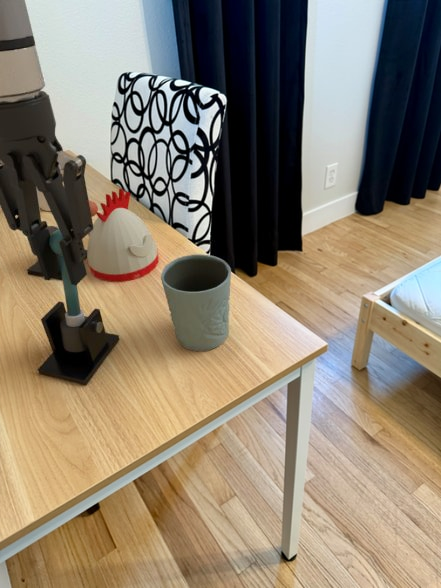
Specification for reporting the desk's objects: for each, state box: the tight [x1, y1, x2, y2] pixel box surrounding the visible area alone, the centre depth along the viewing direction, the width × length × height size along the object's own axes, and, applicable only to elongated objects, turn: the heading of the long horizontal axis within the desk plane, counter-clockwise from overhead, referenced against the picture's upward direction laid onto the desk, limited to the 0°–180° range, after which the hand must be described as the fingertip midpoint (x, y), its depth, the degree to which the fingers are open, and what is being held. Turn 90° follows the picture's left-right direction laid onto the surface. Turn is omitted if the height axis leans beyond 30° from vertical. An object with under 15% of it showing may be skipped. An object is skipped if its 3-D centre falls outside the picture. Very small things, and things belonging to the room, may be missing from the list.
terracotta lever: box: [45, 199, 99, 236], centre depth 89 cm, size 18×4×4 cm, turn 162°
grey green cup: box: [160, 253, 232, 352], centre depth 66 cm, size 10×10×12 cm
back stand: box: [26, 220, 87, 281], centre depth 85 cm, size 10×8×8 cm
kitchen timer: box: [86, 188, 159, 283], centre depth 83 cm, size 14×14×15 cm
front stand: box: [37, 300, 120, 386], centre depth 64 cm, size 10×8×8 cm
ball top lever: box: [49, 230, 88, 352], centre depth 61 cm, size 18×4×4 cm
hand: (66, 276), depth 59 cm, fingers closed on ball top lever, 4 cm apart
